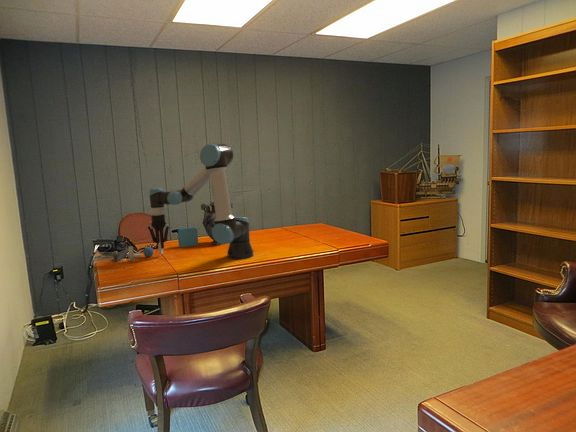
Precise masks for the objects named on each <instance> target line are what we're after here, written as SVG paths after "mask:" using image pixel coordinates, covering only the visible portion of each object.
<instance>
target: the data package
mask: <svg viewBox="0 0 576 432" xmlns="http://www.w3.org/2000/svg"><path fill="white" fill-rule="evenodd" d="M198 233H199V231H198V228H197V227H194V226H191V227H183V228H178V229H177V239H178V246H179V247H181V248H189V247H197V246H198V245H199V235H198Z"/></svg>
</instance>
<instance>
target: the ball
mask: <svg viewBox="0 0 576 432" xmlns="http://www.w3.org/2000/svg"><path fill="white" fill-rule="evenodd" d="M142 253H143V256H145V257H147V258H150V257H152V256H153V255H154V253H155V252H154V248H153V247H150V246H148V247H147V246H146V247H145V248H143V251H142Z"/></svg>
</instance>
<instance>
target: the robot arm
mask: <svg viewBox="0 0 576 432" xmlns="http://www.w3.org/2000/svg"><path fill="white" fill-rule="evenodd" d="M199 160H200V162H201V164H202V165H203V166H204V167H203V168H202V169H201V170H200V171H199V172H198V173H196V175H194V176H193V178H192V179H190V181H188V182H187V184H185V186H183V187H182V188H181V189H179V190H171V191H164V189H163V188H162V187H153V188H150V189H149V202H150V214H151V224H150V225H149V226H147V230H148V231H149V233H150V236H151V239H152V242H153V243H156V249H157V250H158V254H159V255H163V254H164V249H165V243H166V242H167V241H168V236H169V230H170V228H171V225H168V224H167V222H166V215H165V205H168V206H169V205H171V206H172V205H173V206H175V205H180V204H183V203H188V202H191V201H192V200H193V199H194V197H195V195H196V194H197V193H198V192H199V191H200V190H201V189H202V188H203V187H205V185H206V184H208V182H210V186H211V192H212V198H213V202H214V206H215V212H216V218H215V220H214V224H215V226H214V227H213V229H212V236H213V238H214V239H215V241H217V242H218V243H220V244H219V245H226V244H227V245H228V244H229V245H228V249H227V252H226V254H227V255H226V257H227V258H229V259H233V260H239V259H240V260H242V259H248V258H249V259H250V258H251V257H254V250H253V248H252V245H251V236H250V222H249V218H248V217H246V216H234V215H233V214H232V213H233V212H232V208H231V205H230V203H231V200H230V199H231V198H230V195H229V186H228V181H227V180H228V179H227V174H226V170H227V169H228V166H229V165H230V164H231V163H232V161H233V160H234V150H233V149H232V147H230V146H229V145H227V144H225V143H209V144H208V143H207V144H206V145H204V146H203V147H202V148H201V149H200V152H199Z"/></svg>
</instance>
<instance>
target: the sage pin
mask: <svg viewBox="0 0 576 432" xmlns="http://www.w3.org/2000/svg"><path fill="white" fill-rule="evenodd" d="M128 248H129V258H128V259H129V262H132V263H133V262H135V258H134V254H135V253H134V246H132V245H131V246H130V245H129V246H128Z"/></svg>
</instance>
